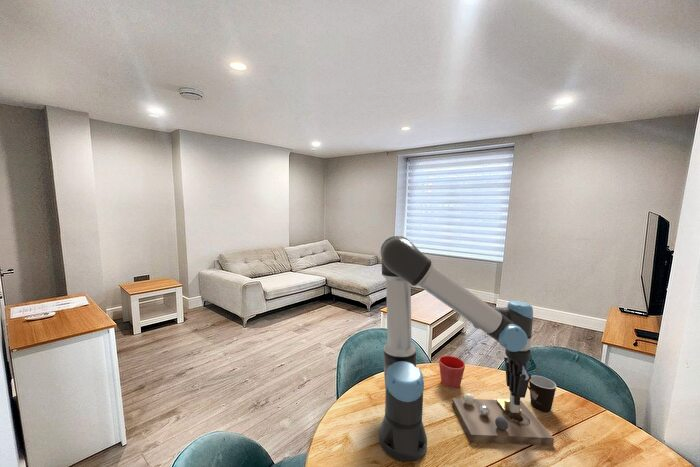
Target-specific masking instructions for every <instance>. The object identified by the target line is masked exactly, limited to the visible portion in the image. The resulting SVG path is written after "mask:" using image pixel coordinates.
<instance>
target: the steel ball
mask: <svg viewBox="0 0 700 467" xmlns="http://www.w3.org/2000/svg"><path fill="white" fill-rule="evenodd" d="M479 412H480V414H481V415H482V416H484V417H487V416H489V414H490V411H489V409H488V407H486V406H484V405H482V406H480V407H479Z"/></svg>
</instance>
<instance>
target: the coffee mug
mask: <svg viewBox="0 0 700 467" xmlns="http://www.w3.org/2000/svg"><path fill="white" fill-rule="evenodd" d="M527 390H529V396H530V405H531V407H532V409H534V410H536V411H538V412H541V413H545V414H548V413H551V412H552V408H553V402H554V398H555V394H556V391H557V384H556V383H555V381H553V380H551V379H549V378H547V377H545V376H542V375H535V374H534V375H531V379H530V381H529V383H528V387H527Z"/></svg>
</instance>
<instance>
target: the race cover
mask: <svg viewBox="0 0 700 467" xmlns="http://www.w3.org/2000/svg"><path fill="white" fill-rule="evenodd" d="M495 400H496V401H497V403H498V404H499V405H500V407H501V408H502V409H503V411H504V412H511V411H510V410H509V406H510V398H508V399H507V398H495ZM520 403H521V402H520ZM519 412H520V413H521V409H519Z"/></svg>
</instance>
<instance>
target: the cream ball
mask: <svg viewBox="0 0 700 467" xmlns="http://www.w3.org/2000/svg"><path fill="white" fill-rule="evenodd" d="M463 399H464V402H465V403H466V404H468V405H472V404H473V403H474V401H475V400H474V399H475V396H473V394H471V393H469V392H467V393H465V394H464V395H463Z"/></svg>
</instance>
